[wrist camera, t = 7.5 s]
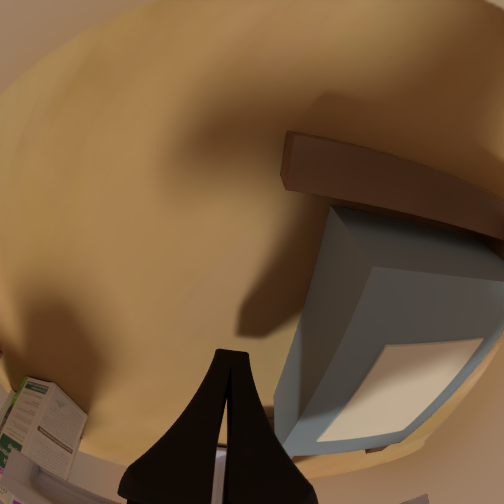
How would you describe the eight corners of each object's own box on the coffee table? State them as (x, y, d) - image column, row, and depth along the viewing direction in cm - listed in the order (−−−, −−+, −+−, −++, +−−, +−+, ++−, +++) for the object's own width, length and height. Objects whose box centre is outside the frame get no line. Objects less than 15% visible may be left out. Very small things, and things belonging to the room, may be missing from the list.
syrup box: (54, 381, 17) (3, 506, 4) (90, 416, 20) (55, 529, 7) (25, 374, 18) (-23, 478, 5) (58, 408, 20) (22, 505, 8)
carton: (384, 389, 15) (400, 443, 11) (273, 392, 15) (275, 457, 11) (472, 234, 10) (530, 286, 6) (328, 202, 10) (374, 268, 6)
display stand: (374, 421, 17) (382, 452, 15) (236, 424, 17) (233, 460, 14) (505, 200, 8) (547, 227, 6) (286, 131, 8) (301, 138, 5)
